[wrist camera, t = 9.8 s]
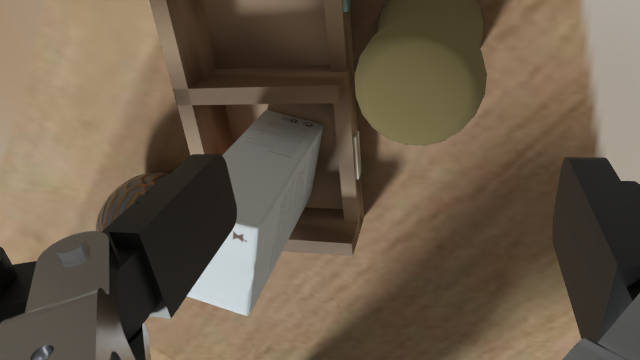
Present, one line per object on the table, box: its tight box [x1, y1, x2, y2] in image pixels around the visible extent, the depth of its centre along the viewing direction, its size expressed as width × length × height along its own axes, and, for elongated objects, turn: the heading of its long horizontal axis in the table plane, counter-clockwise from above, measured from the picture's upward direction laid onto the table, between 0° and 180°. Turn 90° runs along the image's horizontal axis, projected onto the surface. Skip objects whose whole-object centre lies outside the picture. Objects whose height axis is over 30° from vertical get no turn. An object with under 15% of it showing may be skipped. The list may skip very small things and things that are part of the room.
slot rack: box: [149, 0, 364, 256], centre depth 28 cm, size 22×10×5 cm, turn 6°
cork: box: [355, 0, 487, 146], centre depth 22 cm, size 6×6×11 cm
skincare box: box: [187, 110, 323, 316], centre depth 27 cm, size 6×4×12 cm
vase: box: [96, 172, 169, 232], centre depth 34 cm, size 7×7×9 cm
